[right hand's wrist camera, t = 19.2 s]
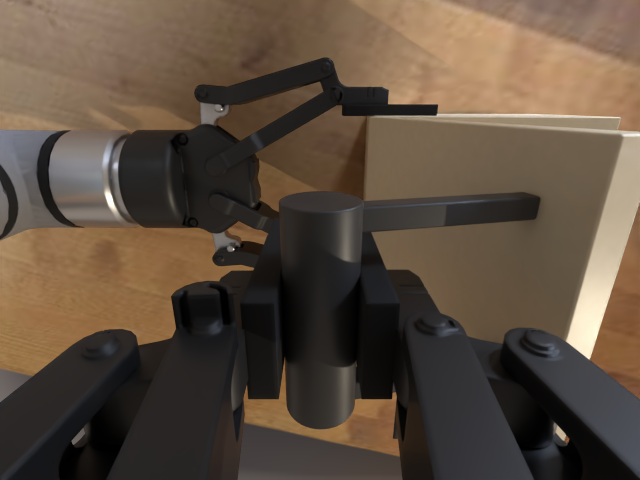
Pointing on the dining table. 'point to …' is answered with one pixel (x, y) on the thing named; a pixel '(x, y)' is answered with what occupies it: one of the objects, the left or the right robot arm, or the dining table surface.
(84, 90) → the dining table surface
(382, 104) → the left robot arm
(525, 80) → the dining table surface
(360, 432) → the dining table surface
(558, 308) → the lid
